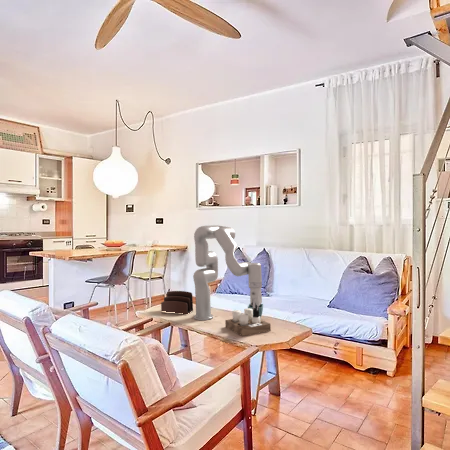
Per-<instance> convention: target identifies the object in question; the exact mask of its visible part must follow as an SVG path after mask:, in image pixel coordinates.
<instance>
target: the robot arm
mask: <svg viewBox="0 0 450 450" xmlns="http://www.w3.org/2000/svg"><path fill="white" fill-rule="evenodd" d="M193 234H194V235H193V239H194V249H195V250H194V253H195V254H194V255H195V256H194V257H195V264H196V266H197V267H200V269H199V268H198V269H197V270H195V272H194V273H193V274H192V275H193V276H192V277H193V282H194V290H195V292H194V293H195V314H194V315H193V319H194V320H195V321H207V320H212V319H213V318H214V315H213V314H212V309H211V288H210V286H209V283H212V282H215V281H216V280H217V279H218V276H219V261H218V260H219V259H218V256H217V253H216V252H214V251H212V250H209V243H208V241H207V240H212V239H215V240H216V241H217V243H218V244H219V247H221V250H223V252H224V253H225V254H224V257H225V259H224V261H225V264H226V266H227V268H228V269H229V271H230V272H231V274H233V276H235V277H241V276H247V275H248V276H247V277H248V288H249V289H250V290H249V297H250V299H249V300H250V301H249V302H250V303H249V304H251V306H252V305H253V317H259V305H260V304H263V297H262V288H263V284H262V283H263V282H262V281H263V278H262V275H263V274H262V264H261V263H259V262H251V261H243V262H238V260H237V258H236V257H235V251H237V249H238V244H237V243H236V242H235V241H234V239H235V237H236V232H235V230H234V229H233V227H228V226H222V225H219V224H218V225H215V224H213V225H202V226H199V227H197V228H196V230H195V231H194V233H193ZM202 267H203V268H202Z"/></svg>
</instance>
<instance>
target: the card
mask: <svg viewBox="0 0 450 450" xmlns="http://www.w3.org/2000/svg"><path fill="white" fill-rule="evenodd" d="M261 325H262V324H259V323H255V324H250V325H248V326H250V327H255V326H261Z"/></svg>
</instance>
